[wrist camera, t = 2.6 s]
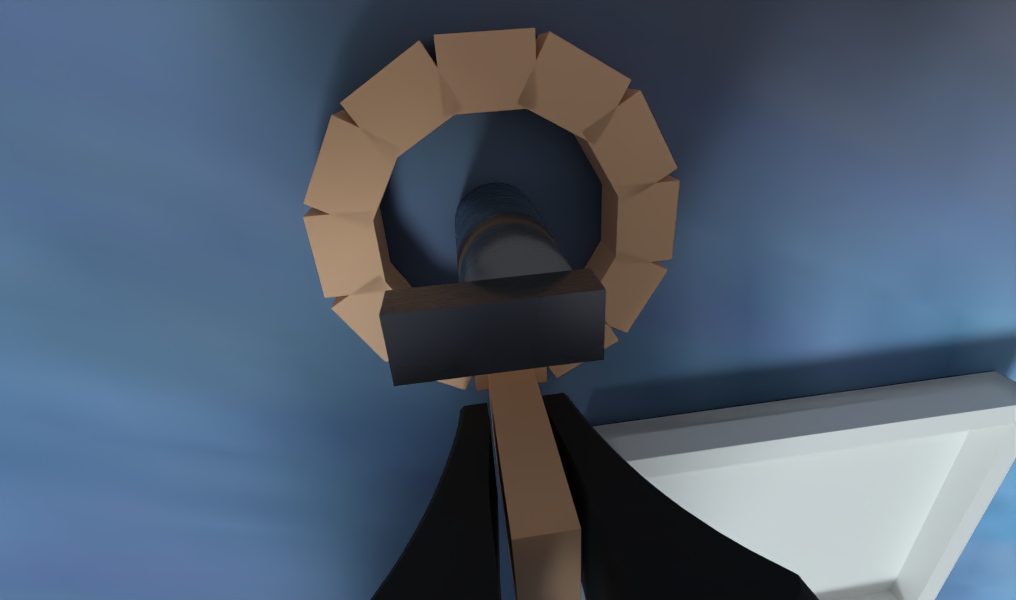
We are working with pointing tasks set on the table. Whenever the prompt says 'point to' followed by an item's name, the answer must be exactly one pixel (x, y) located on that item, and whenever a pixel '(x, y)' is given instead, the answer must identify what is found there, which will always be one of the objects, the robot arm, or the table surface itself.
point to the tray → (840, 478)
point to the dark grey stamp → (496, 300)
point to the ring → (616, 262)
